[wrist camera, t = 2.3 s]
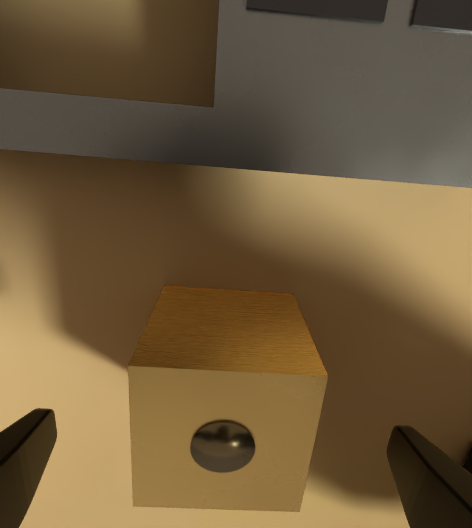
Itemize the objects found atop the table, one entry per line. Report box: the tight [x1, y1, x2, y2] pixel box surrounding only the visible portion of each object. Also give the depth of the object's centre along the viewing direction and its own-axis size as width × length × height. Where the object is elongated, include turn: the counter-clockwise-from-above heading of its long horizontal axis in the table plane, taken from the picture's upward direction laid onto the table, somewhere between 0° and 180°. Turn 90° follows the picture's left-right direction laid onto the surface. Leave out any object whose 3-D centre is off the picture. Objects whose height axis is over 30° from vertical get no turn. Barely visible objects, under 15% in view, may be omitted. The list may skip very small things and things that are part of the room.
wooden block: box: [128, 285, 328, 512], centre depth 10 cm, size 4×4×5 cm
